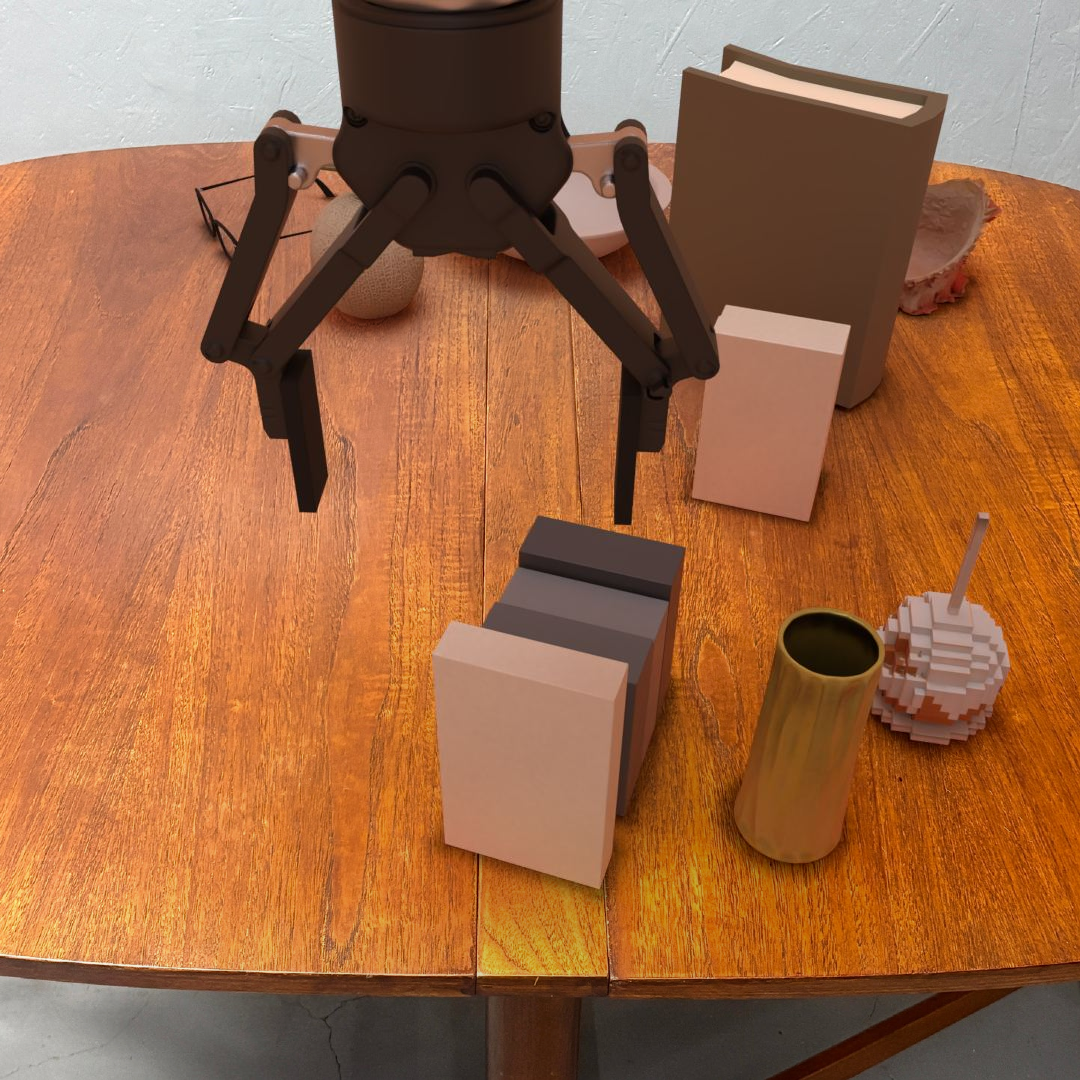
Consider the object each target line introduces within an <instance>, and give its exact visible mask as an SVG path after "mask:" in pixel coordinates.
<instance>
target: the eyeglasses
mask: <svg viewBox="0 0 1080 1080" xmlns="http://www.w3.org/2000/svg"><path fill="white" fill-rule="evenodd" d="M252 178H254V174H252V175H248V176H244V177H239V178H236V179H232V180H227V181H224V182H220V183H216V184H211V185H208V186H203V187H199V188H198V187H195V188H194V194H195V196H196V198H197V201H198V204H199V207H200V211H201V215H202V218H203V220H204V224H205V226H206V228H207V230H208V232H209V233H210V235H211V237H212V238H213V239H218V240H219V241H218V242H219V243H220V246H221V248H222V251H223V253H224V255H225V256H226V258H227V259H228V260H229V262H231V259H232V257H231V255H230V254H229V252H228V250H227V247H226V246H225V242H224V240H223V239H224V238H225V237H224V236H225V235H224V234H223V232H224V233H225V234H226V235H227V237H228V238H229V239H230V241H231V242H232V245H233V248H234V250H235V248H236V245H237V243H238V240H237V239H236V238H235V236H234V235H233V233H231V231H230V230H229V229H228V228H227V227H226V225H224V224H223V223H222V222H221V221H219V220H218V219H215V218H214V216H213V213H212V211H211V209H210V207H209V206H208V204H207V202H206V201H205V198H204V197H203V194H202V193H201V192H205V191H209V190H212V189H216V188H219V187H223V186H227V185H231V184H234V183H237V182H242V181H245V180H249V179H252ZM314 183H315V184H316V185H317V186H318V187H319V189H320V190H321V192H322V193H323V194H324V196H325V197H326V198H329V199H330V198H331V199H332V198H333V199H334V198H336V195H335V194H334V193H333V192H332V190H331V189H330V188H329V187H328V186H327V185H326V184H325V182H324V181H322V180H321V179H320V178H318V177H317V178H316V180H315V182H314ZM206 213H207V215H208V218H207V215H206ZM208 219H209V221H210V223H209V221H208ZM210 224H211V226H210ZM312 230H313V229H309V230H305V231H304V230H303V231H300V232H295V233H290V234H285V235H281V237H280V239H279V241H280V240H284V239H288V238H293V237H297V236H301V235H305V234H310V233H312Z"/></svg>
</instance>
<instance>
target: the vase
mask: <svg viewBox="0 0 1080 1080" xmlns="http://www.w3.org/2000/svg"><path fill="white" fill-rule="evenodd" d="M778 627H779V628H778V630H777V634H776V635H777V636H776V643H775V648H774V653H773V658H772V662H771V668H770V673H769V676H768V680H767V683H766V688H765V691H764V695H763V700H762V704H761V707H760V711H759V714H758V718H757V722H756V725H755V730H754V733H753V738H752V743H751V746H750V750H749V753H748V757H747V761H746V765H745V769H744V772H743V776H742V777H743V778H742V783H741V786H740V788H739V790H738V793H737V794H736V797H735V801H734V805H733V817H734V822H735V825H736V827H737V829H738V831H739V833H740V835H741V836H742V838H743V839H744V840H745V841H746V842H747V844H748V845H749V846H750V847H752V848H753V849H754V850H756V851H757V852H759V853H760V854H762V855H763V856H765V857H768V858H769V859H772V860H774V861H778V862H782V863H787V864H808V863H812V862H815V861H818V860H821V859H823V858H825V857H826V856H828V855H829V854H831V853H832V852H833V850H834V849H835V848H836V847H837V846H838V844H839V842H840V841H841V838H842V835H843V824H844V821H845V816H846V812H847V808H848V803H849V799H850V798H849V797H850V794H851V788H852V784H853V779H854V773H855V768H856V763H857V760H858V755H859V751H860V746H861V744H862V740H863V737H864V732H865V728H866V724H867V721H868V718H869V715H870V712H871V710H872V707H871V706H872V702H873V699H874V696H875V693H876V689H877V686H878V683H879V679H880V676H881V672H882V667H883V662H884V657H885V647H884V643H883V641H882V639H881V638H880V636H879V634H878V633H877V631H876V630H877V629H875V628H874V627H873V626H872V625H871V624H870V623H868V622H867V621H865V620H864V619H862V618H861V617H859V616H857V615H856V614H854V613H851V612H849V611H845V610H843V609H838V608H834V607H827V606H812V607H806V608H802V609H799V610H796V611H794V612H791V614H789V615H788V616H786V618H785V619H784V620H783V621H782V622H781V624H780V625H779V626H778Z"/></svg>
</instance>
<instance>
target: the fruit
mask: <svg viewBox="0 0 1080 1080" xmlns="http://www.w3.org/2000/svg"><path fill="white" fill-rule="evenodd" d="M320 171H326V172H335V173H338V172H337V171H336V169H335V166H325V167H323V168H321V169H320ZM362 204H363V203H362V202H361V201H360V200H359V198H358V197H357V196H356V195H355V194H354V192H353V191H352V190H350V191H347V192H345V193H341V194H340V195H338V196H335V197H333V199H332V200H330V201H329V202H328V203H327V204H325V206H324V207H322V209H321V211H320V212H319V213H318V216H317V217H316V219H315V221H314V224H313V227H312V229H311V230H312V232H311V235H310V243H309V256H310V264H311V269H312V268H313V267H314V266H315V264H316V263H317V262H318V261H319V259H320V258H321V257H322V256H323V254H324V253H325V252H326V251H327V250H328V248H329V247H330V246H331V245H332V243H333V242H334V241H335V240H336V238H337V237H338V236H339V235H340V233H341V232H342V231H343V230H344V228H345V227H346V226H347V225H348V223H349V222H350V221H351V219H352V218H353V216H354V215H355V213H356V212H357V210H358V209H359V207H360V206H361V205H362ZM424 271H425V257H413V252H412V250H409V249H406V248H404V247H402V246H401V245H399V244H398V243H396V242H395V241H394V240H393V241H392V242H391V243H390V244H389V245H388V247H387V248H386V249H385V250H384V251H383V253H382V254H381V255H380V256H379V257H378V258H377V260H376V261H375V262H374V263H373V264H372V265H371V267H370V268H368V269H366V270H365V271H364V272H363V273H362V274H361V275H360V276H359V277H358V279H357V280H356V281H355V282H354V283H353V285H352V286H351V287H350V288H349V289H348V291H347V292H346V293H345V294H344V295H343V296H342V298H341V299H340V300H339V301H338V302H337V304H336V305H335V306H334V307H335V308H336V309H338V310H339V311H340V312H341V313H343V314H345V315H347V316H350V317H354V318H357V319H361V320H362V319H363V320H376V319H382V318H387V317H390V316H393V315H395V314H397V313H399V312H401V311H403V309H405V308H406V307H407V306H408V305H409V304H410V303H411V302H412V300H413V299H414V298H415V297H416V295H417V293H418V291H419V289H420V286H421V283H422V280H423V276H424Z"/></svg>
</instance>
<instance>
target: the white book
mask: <svg viewBox="0 0 1080 1080" xmlns="http://www.w3.org/2000/svg"><path fill="white" fill-rule="evenodd" d="M431 658H432V660H431V661H432V671H433V672H432V674H433V688H434V702H435V703H434V704H435V716H436V733H437V746H438V747H437V748H438V761H439V763H438V764H439V774H440V775H439V776H440V790H441V805H442V819H443V820H442V821H443V833H444V844H445V845H447V846H448V845H449V846H452V847H455V848H458V849H462V850H464V851H469V852H472V853H475V854H478V855H482V856H485V857H489V858H493V859H495V860H499V861H503V862H506V863H509V864H513V865H516V866H519V867H522V868H526V869H530V870H533V871H536V872H539V873H543V874H547V875H550V876H554V877H555V878H560V879H563V880H567V881H570V882H573V883H577V884H581V885H584V886H587V887H590V888H593V889H597V890H600V889H601V887H602V884H603V881H604V878H605V875H606V872H607V870H608V866H609V863H610V860H611V858H612V855H613V849H614V848H613V846H614V836H615V826H616V825H615V824H616V803H617V791H618V780H619V769H620V757H621V746H622V734H623V723H624V711H625V700H626V688H627V677H628V663H624V662H620V661H616V660H612V659H608V658H603V657H599V656H595V655H591V654H587V653H583V652H579V651H575V650H571V649H567V648H563V647H559V646H555V645H550V644H546V643H542V642H538V641H534V640H530V639H526V638H522V637H518V636H514V635H510V634H506V633H502V632H498V631H493V630H489V629H485V628H481V626H477V625H473V624H469V623H465V622H460V621H456V620H454V619H453V620H450V622H449V624H448V625H447V627H446V629H445V630H444V633H443V634H442V636H441V637H440V639H439V641H438V643H437V645H436V646H435V648H434V650H433V652H432V653H431Z"/></svg>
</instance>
